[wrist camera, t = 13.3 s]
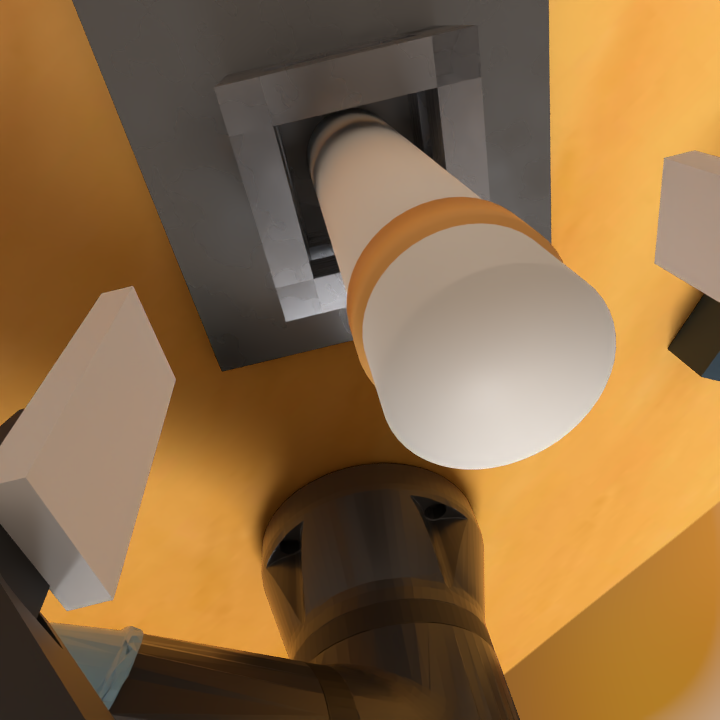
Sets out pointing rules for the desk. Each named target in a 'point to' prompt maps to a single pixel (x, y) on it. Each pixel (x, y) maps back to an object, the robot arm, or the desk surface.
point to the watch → (701, 339)
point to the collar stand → (294, 129)
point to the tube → (455, 303)
